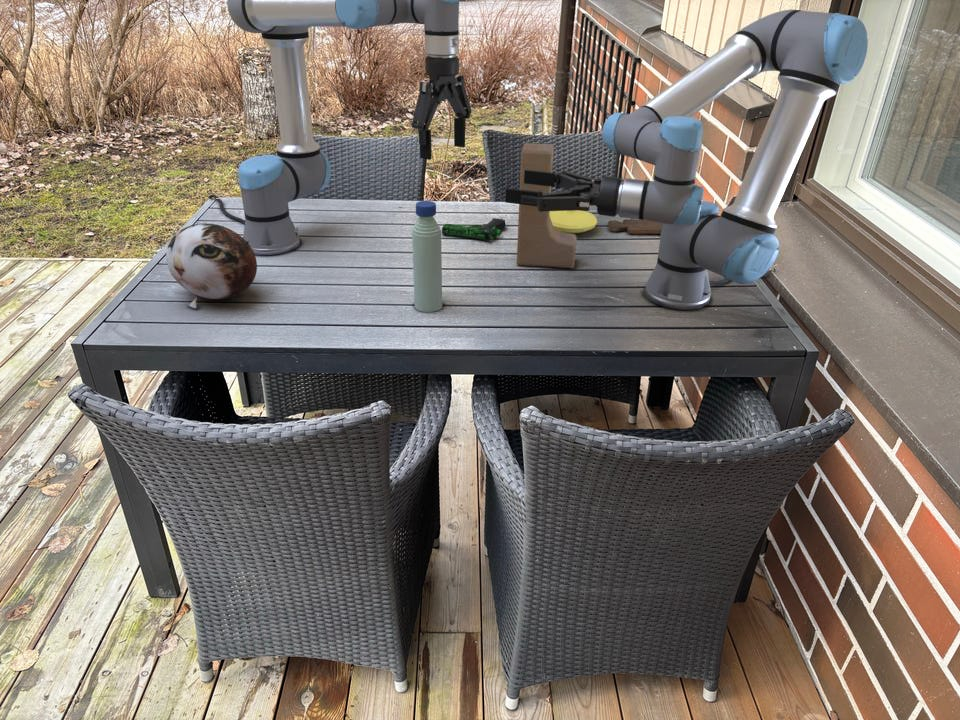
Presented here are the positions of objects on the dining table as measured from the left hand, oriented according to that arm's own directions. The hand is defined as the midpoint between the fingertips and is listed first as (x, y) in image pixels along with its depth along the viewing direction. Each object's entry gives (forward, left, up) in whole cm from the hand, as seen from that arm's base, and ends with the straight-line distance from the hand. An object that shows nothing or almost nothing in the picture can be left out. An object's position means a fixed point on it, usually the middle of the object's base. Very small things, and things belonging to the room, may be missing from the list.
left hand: (443, 152), depth 168 cm
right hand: (+28, -14, 0) cm, 31 cm away
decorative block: (+19, +20, -30) cm, 41 cm away
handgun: (-9, +28, -30) cm, 42 cm away
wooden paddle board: (+33, +60, -30) cm, 75 cm away
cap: (+9, -19, -6) cm, 21 cm away
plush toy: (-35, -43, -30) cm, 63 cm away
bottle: (+9, -19, -30) cm, 37 cm away
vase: (+12, +46, -30) cm, 56 cm away
